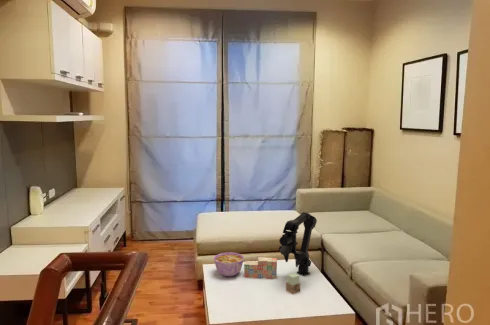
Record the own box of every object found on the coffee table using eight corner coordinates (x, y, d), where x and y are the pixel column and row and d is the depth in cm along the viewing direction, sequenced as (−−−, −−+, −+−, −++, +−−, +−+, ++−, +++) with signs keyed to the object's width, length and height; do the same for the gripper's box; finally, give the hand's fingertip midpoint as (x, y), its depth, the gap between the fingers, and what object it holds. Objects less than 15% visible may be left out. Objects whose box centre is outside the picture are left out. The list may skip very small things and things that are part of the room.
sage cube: (293, 280, 234) (293, 272, 233) (298, 283, 229) (299, 275, 229) (287, 282, 231) (287, 274, 230) (292, 285, 227) (292, 277, 226)
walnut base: (293, 287, 235) (293, 280, 234) (300, 291, 230) (300, 283, 229) (286, 290, 231) (286, 282, 231) (292, 294, 227) (292, 286, 226)
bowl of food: (246, 279, 248) (246, 262, 247) (215, 281, 245) (215, 264, 243) (241, 267, 268) (241, 251, 266) (212, 269, 264) (212, 253, 263)
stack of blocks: (243, 277, 251) (243, 260, 249) (245, 273, 257) (245, 256, 255) (276, 279, 248) (276, 261, 246) (276, 275, 254) (277, 257, 253)
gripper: (272, 239, 243) (272, 263, 246) (292, 248, 229) (292, 272, 231) (285, 236, 250) (285, 258, 252) (305, 244, 235) (305, 268, 237)
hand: (291, 264), depth 243 cm, fingers open, 9 cm apart
